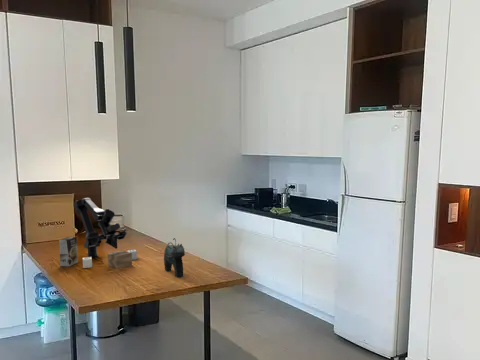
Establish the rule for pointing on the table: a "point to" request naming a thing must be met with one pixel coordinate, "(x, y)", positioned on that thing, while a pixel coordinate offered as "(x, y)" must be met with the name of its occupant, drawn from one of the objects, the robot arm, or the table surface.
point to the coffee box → (68, 251)
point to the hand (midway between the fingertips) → (116, 248)
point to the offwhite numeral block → (87, 262)
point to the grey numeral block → (133, 253)
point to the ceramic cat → (174, 258)
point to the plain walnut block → (119, 259)
